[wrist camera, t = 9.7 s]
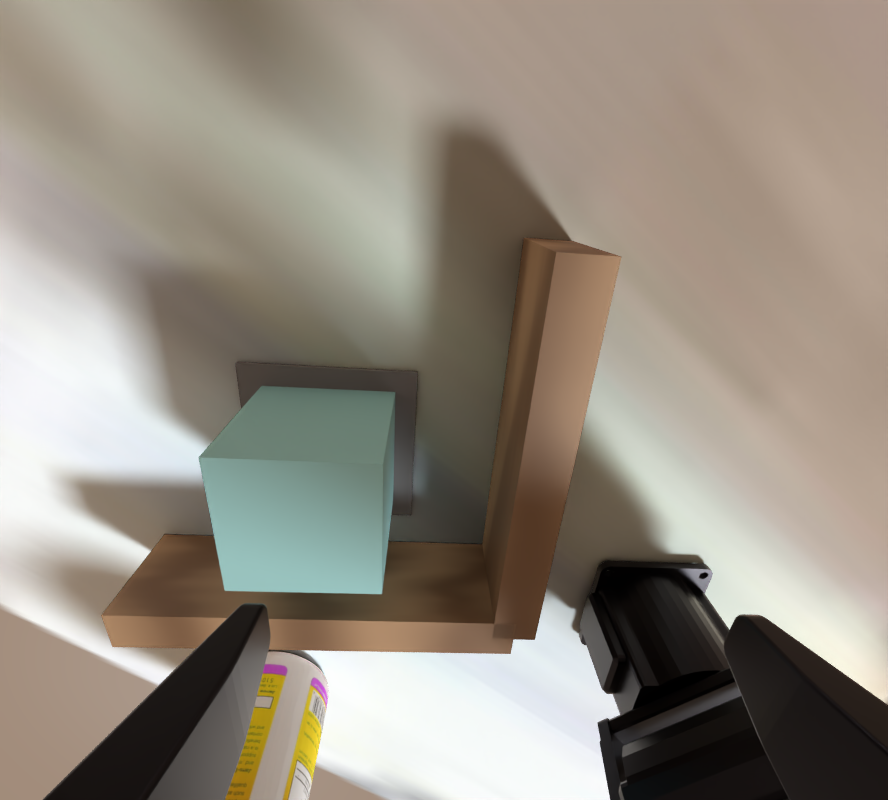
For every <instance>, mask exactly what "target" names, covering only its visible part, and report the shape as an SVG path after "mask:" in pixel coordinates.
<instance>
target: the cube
mask: <svg viewBox="0 0 888 800" xmlns="http://www.w3.org/2000/svg"><path fill="white" fill-rule="evenodd" d="M394 435H395V392H385V391H363V390H341V389H319V388H298V387H276V386H261V387H260V388H259V389H258V390H257V392H256V393H255V394H254V395H253V396H252V397H251V398H250V400H249V401H248V402H247V403H246V404H245V405H244V406H243V408H242V409H241V410H240V411H239V412H238V413H237V414H236V415H235V417H234V418H233V419H232V420H231V421H230V422H229V423H228V425H227V426H226V427H225V428H224V429H223V430H222V431H221V433H220V434H219V435H218V436H217V437H216V438H215V439H214V441H213V442H212V443H211V444H210V445H209V446H208V447H207V449H206V450H205V451H204V452H203V453H202V454H201V455H200V457H199V462H200V467H201V472H202V477H203V482H204V487H205V493H206V498H207V503H208V508H209V513H210V518H211V523H212V528H213V533H214V538H215V544H216V549H217V554H218V559H219V564H220V569H221V574H222V579H223V584H224V590H225V591H254V592H302V593H349V594H382V590H383V582H384V573H385V565H386V556H387V548H388V539H389V531H390V522H391V514H392V505H393V485H394Z"/></svg>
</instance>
